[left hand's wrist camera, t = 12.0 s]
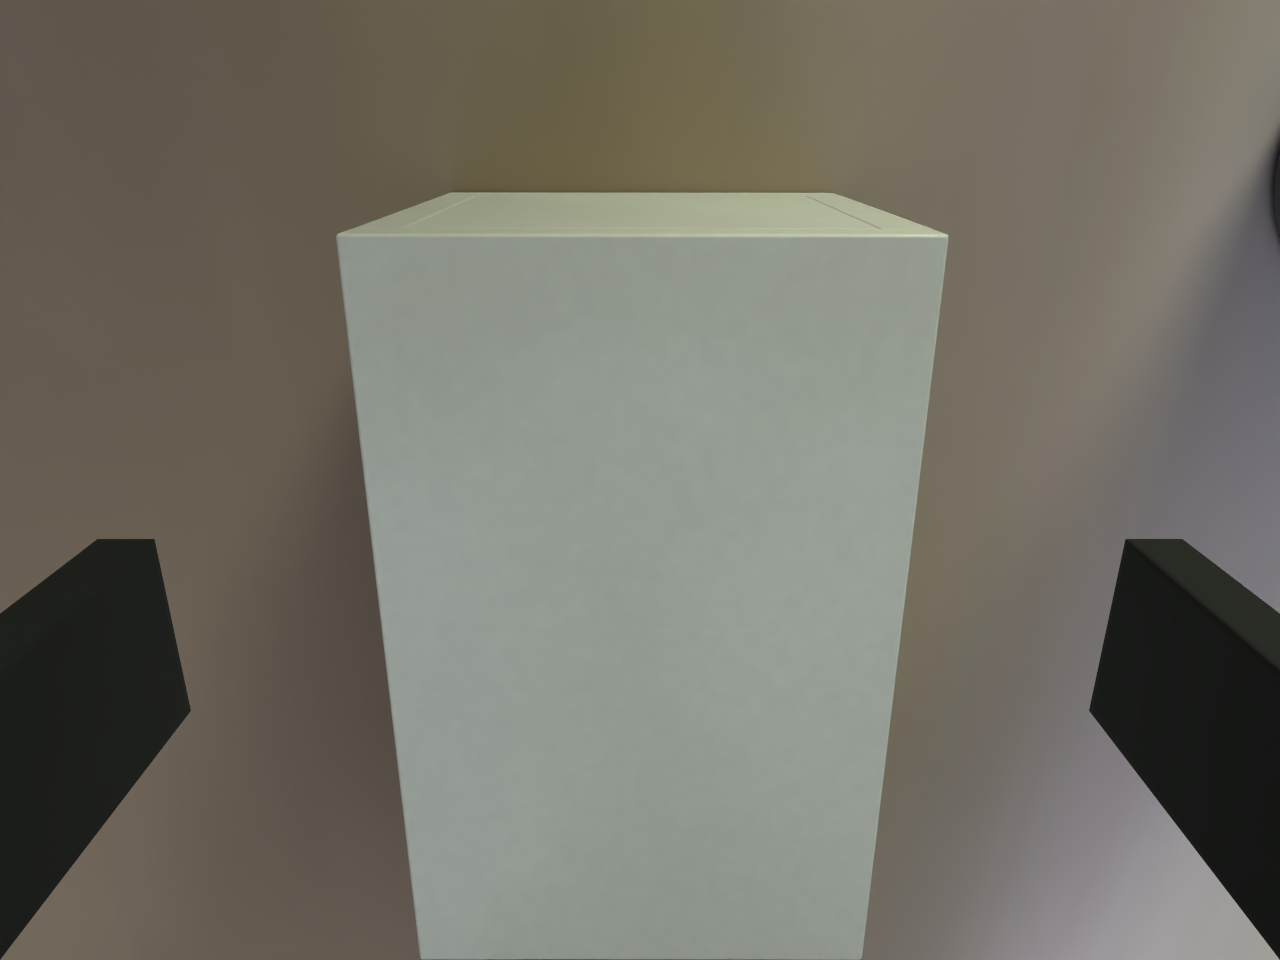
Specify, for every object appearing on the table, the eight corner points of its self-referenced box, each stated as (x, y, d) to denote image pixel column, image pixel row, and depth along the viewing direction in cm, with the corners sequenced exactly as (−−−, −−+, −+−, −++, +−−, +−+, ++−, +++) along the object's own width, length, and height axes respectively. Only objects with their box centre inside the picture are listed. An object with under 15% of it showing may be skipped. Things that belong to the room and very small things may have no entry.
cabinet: (795, 709, 34) (862, 960, 24) (485, 709, 34) (419, 960, 24) (834, 192, 27) (949, 234, 17) (448, 192, 27) (334, 234, 17)
